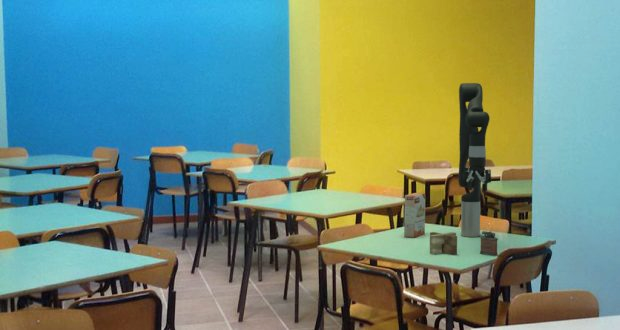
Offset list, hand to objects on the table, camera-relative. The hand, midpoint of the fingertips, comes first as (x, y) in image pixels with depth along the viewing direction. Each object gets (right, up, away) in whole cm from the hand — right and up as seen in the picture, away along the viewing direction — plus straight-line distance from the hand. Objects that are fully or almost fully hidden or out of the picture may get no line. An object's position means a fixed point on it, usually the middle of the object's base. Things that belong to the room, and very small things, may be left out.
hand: (477, 191), depth 347 cm
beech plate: (-18, -27, -11) cm, 34 cm away
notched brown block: (-17, -27, -11) cm, 34 cm away
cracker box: (-24, -24, +31) cm, 46 cm away
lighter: (+1, -27, -17) cm, 32 cm away
